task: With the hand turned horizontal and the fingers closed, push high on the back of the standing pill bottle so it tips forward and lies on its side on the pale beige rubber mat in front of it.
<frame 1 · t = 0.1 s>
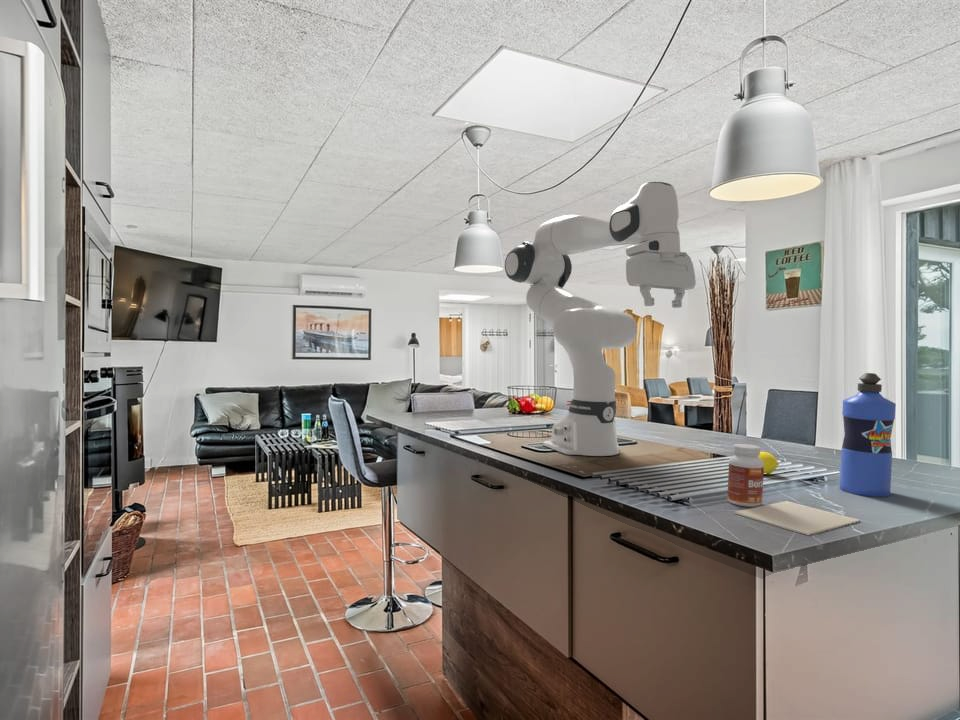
hand: (663, 306, 142), 39 cm above the counter, tool pointing down, fingers open, 8 cm apart
pill bottle: (744, 504, 115), on the counter
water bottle: (864, 492, 127), on the counter
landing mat: (796, 517, 107), on the counter
lemon: (762, 475, 141), on the counter
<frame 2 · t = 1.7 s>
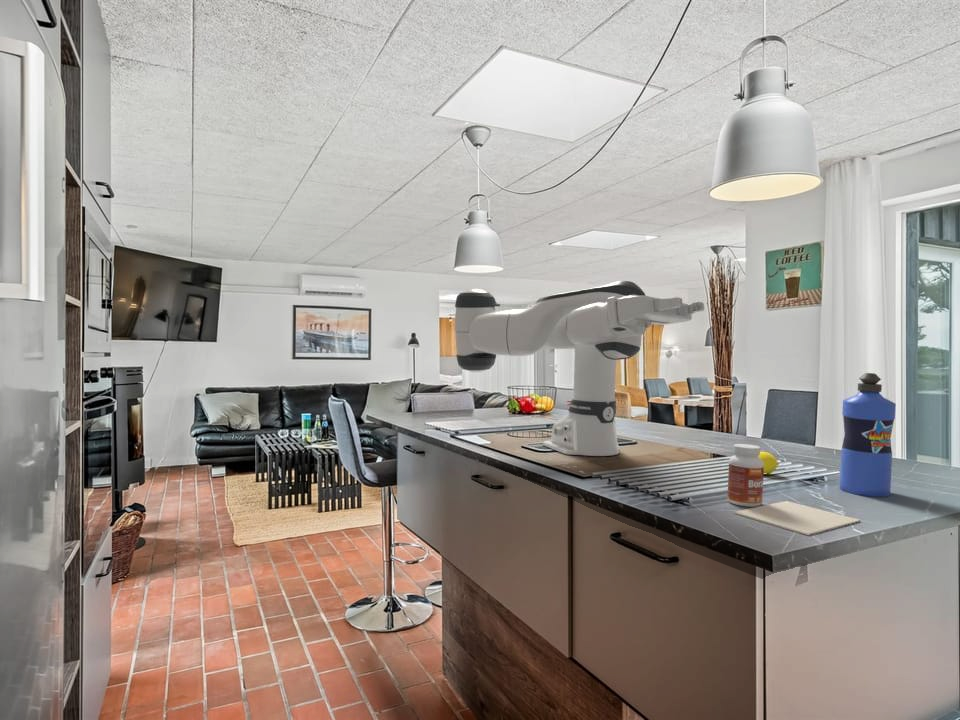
hand: (692, 303, 119), 38 cm above the counter, tool horizontal, fingers open, 8 cm apart
nothing on the counter moved.
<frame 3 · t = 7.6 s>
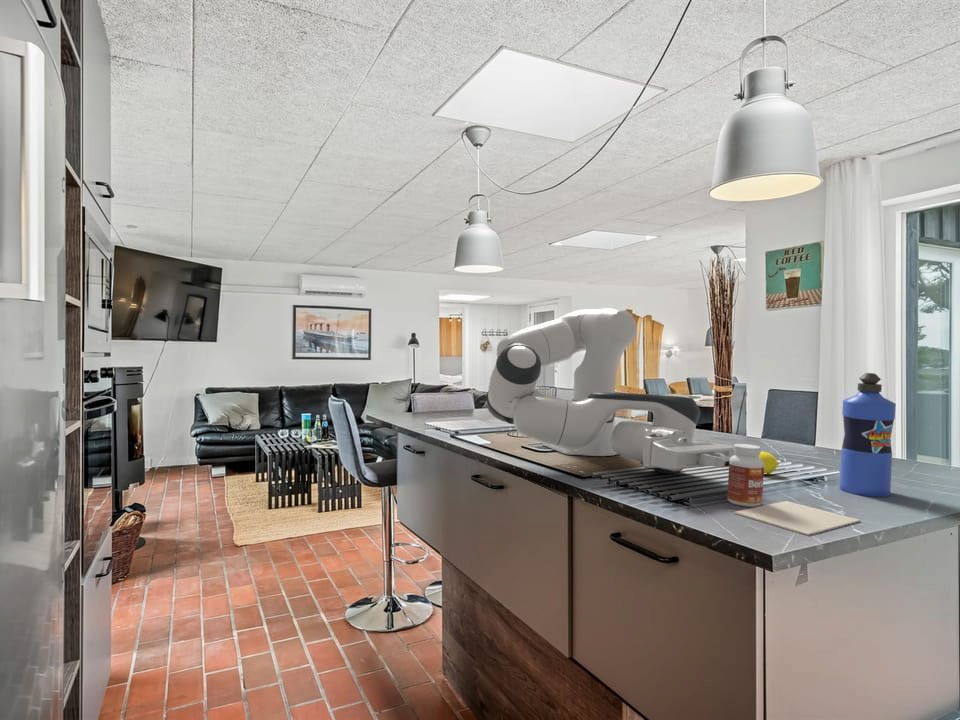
hand: (728, 463, 117), 7 cm above the counter, tool horizontal, fingers closed
pill bottle: (744, 504, 115), on the counter, touching gripper
everything else where it was.
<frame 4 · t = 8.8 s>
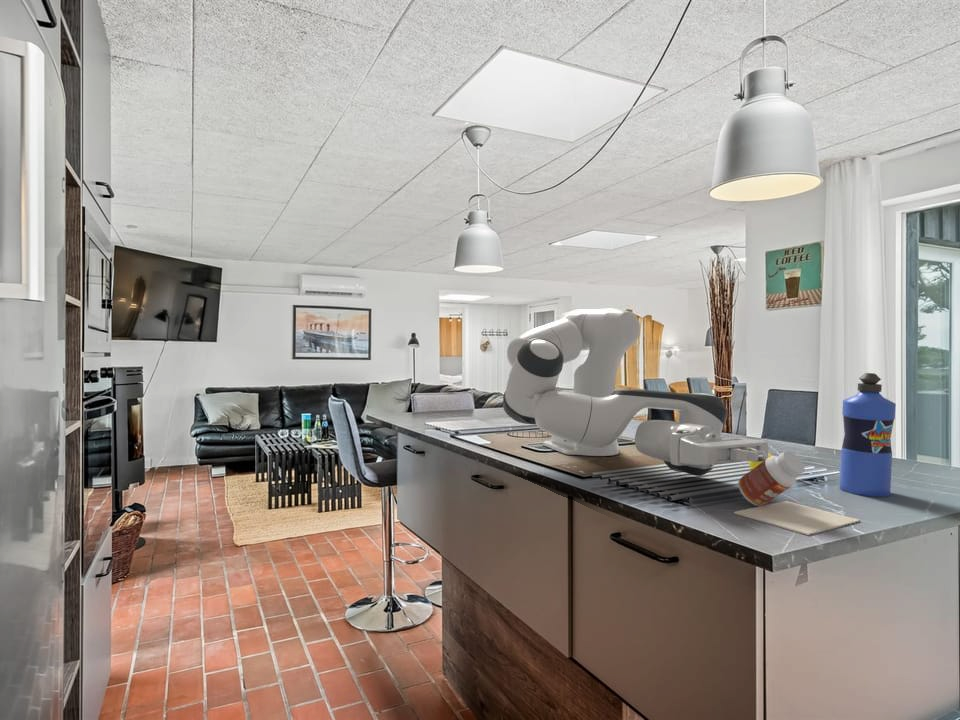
hand: (761, 457, 112), 10 cm above the counter, tool horizontal, fingers closed
pill bottle: (749, 493, 115), point 2 cm above the counter, touching gripper
everything else where it was.
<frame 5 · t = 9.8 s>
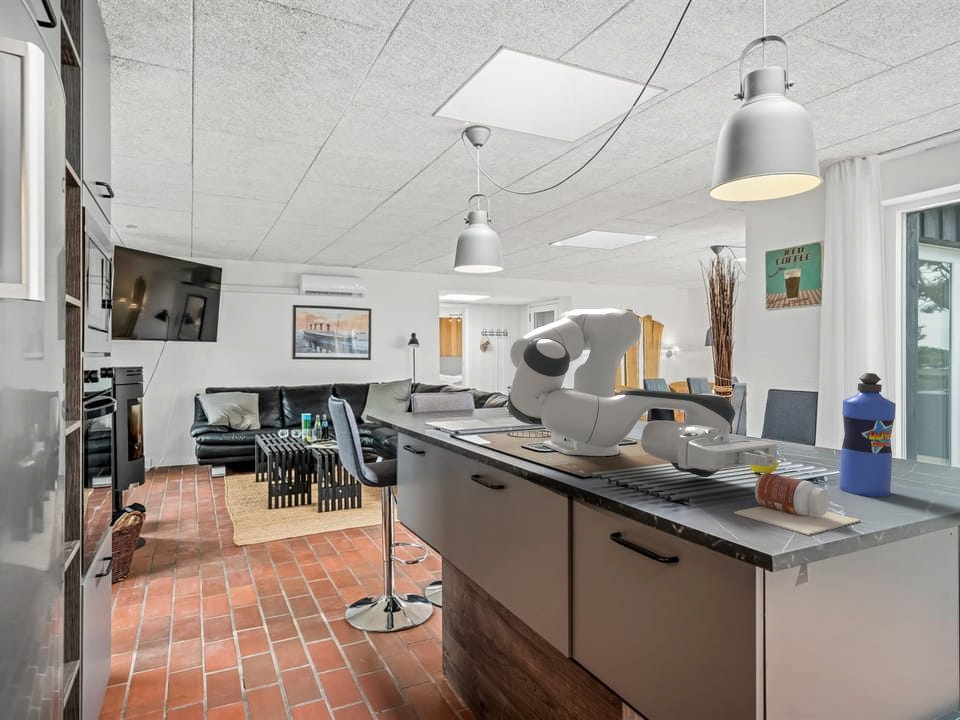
hand: (770, 461, 111), 9 cm above the counter, tool horizontal, fingers closed
pill bottle: (761, 488, 113), point 3 cm above the counter, touching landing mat
everything else where it was.
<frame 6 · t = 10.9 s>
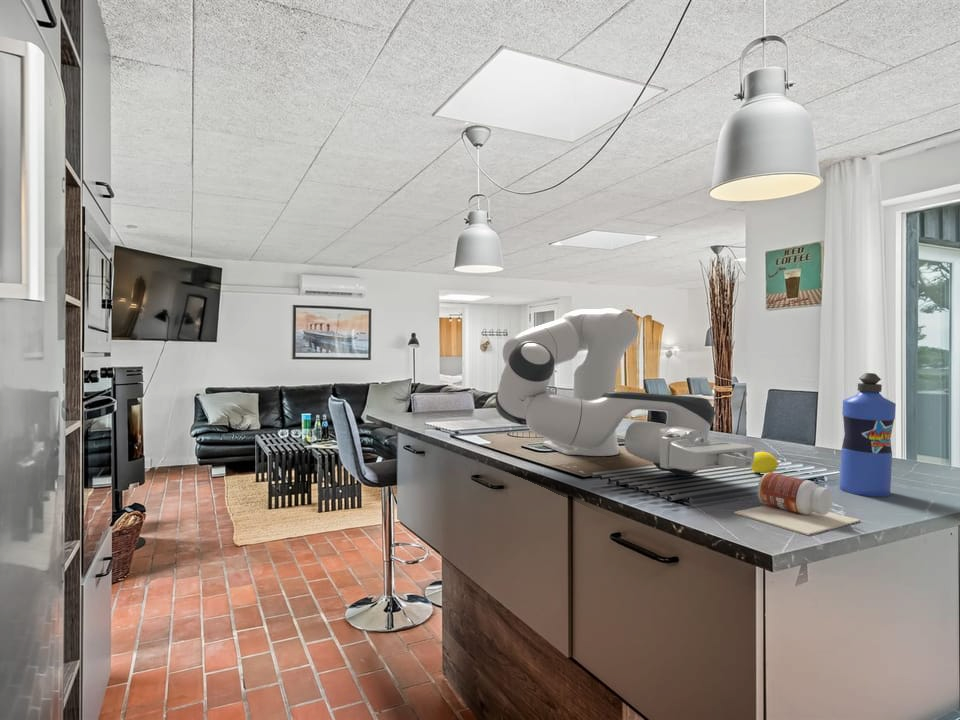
hand: (748, 463, 115), 8 cm above the counter, tool horizontal, fingers closed
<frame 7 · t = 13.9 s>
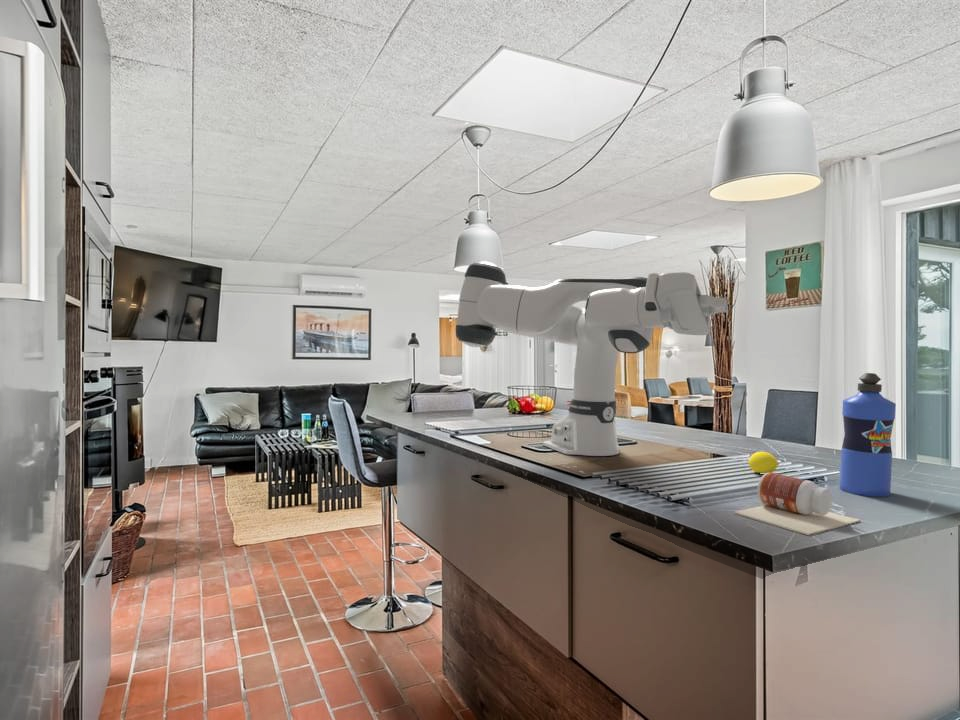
hand: (726, 305, 120), 38 cm above the counter, tool horizontal, fingers closed
nothing on the counter moved.
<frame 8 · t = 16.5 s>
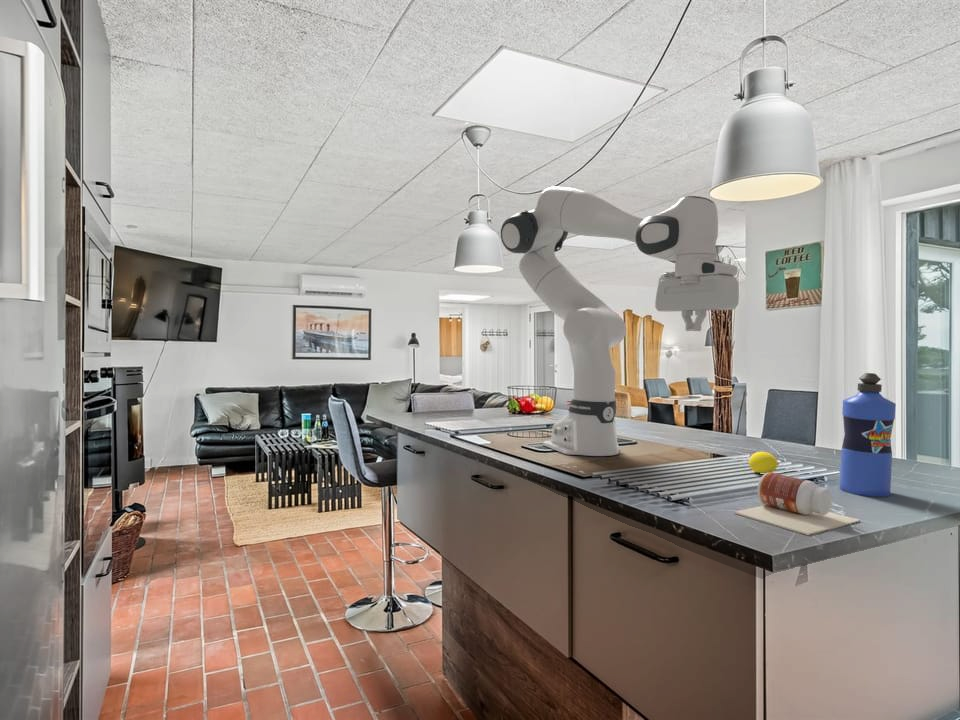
hand: (693, 331, 135), 33 cm above the counter, tool pointing down, fingers closed
nothing on the counter moved.
at the end: pill bottle tilted 90°; pill bottle touching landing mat; pill bottle inside the target area (3.8 cm from its centre), point 3.4 cm above the counter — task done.
